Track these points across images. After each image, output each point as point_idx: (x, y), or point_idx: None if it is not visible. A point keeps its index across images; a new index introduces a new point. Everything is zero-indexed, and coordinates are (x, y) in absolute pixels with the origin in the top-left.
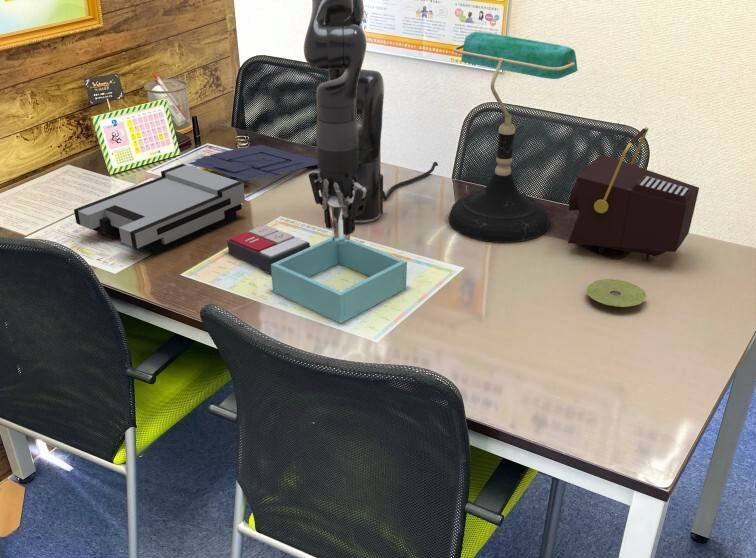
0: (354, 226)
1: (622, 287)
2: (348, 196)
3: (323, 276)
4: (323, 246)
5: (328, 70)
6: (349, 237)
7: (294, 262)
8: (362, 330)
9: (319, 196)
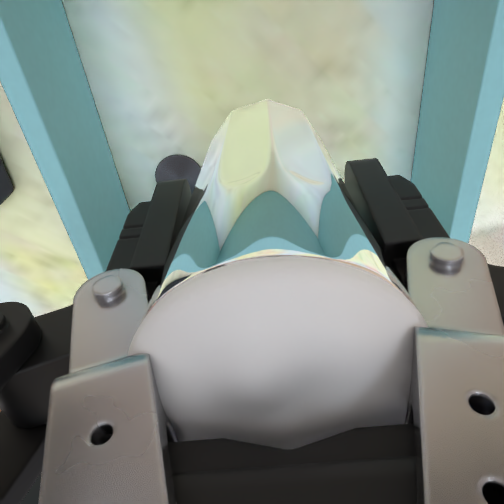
0: (420, 198)
1: None
2: (361, 358)
3: (116, 48)
4: (11, 25)
5: None
6: (312, 127)
7: (92, 212)
8: (500, 197)
9: (42, 451)
